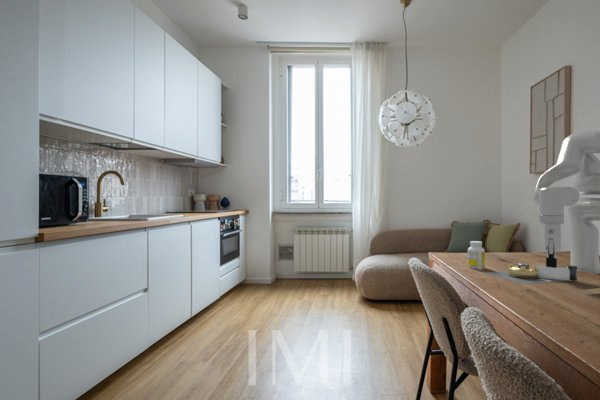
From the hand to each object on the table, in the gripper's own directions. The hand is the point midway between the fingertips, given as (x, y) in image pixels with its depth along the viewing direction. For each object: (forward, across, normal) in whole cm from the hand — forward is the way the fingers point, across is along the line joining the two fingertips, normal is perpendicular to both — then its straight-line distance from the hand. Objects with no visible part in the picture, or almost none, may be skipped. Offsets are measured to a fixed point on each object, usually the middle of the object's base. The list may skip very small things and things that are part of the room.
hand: (551, 268), depth 132 cm
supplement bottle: (+5, +5, +27) cm, 28 cm away
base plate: (+5, -3, +9) cm, 10 cm away
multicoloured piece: (+3, -3, +3) cm, 5 cm away
